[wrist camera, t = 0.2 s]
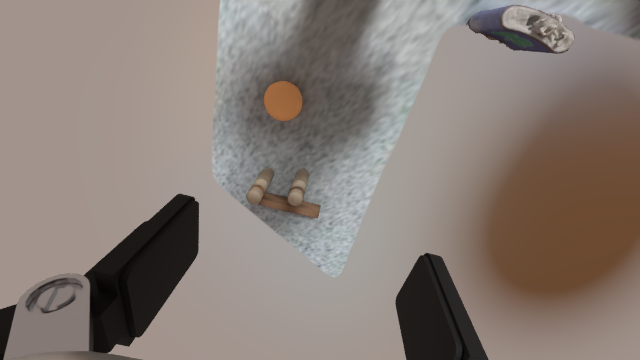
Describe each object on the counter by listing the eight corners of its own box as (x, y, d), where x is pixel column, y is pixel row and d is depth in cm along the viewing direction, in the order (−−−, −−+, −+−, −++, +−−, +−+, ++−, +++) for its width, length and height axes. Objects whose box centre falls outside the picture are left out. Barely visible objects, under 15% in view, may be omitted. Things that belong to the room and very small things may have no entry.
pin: (297, 167, 49) (288, 191, 41) (310, 170, 49) (303, 195, 41) (295, 178, 50) (286, 204, 43) (307, 181, 51) (301, 207, 43)
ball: (271, 74, 42) (261, 79, 37) (308, 83, 42) (302, 89, 37) (267, 111, 45) (257, 120, 39) (301, 119, 45) (295, 129, 40)
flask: (463, 28, 37) (505, 23, 27) (477, 4, 35) (525, -9, 26) (519, 54, 38) (577, 58, 28) (534, 32, 36) (601, 29, 27)
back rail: (261, 197, 53) (258, 204, 51) (262, 191, 53) (259, 198, 50) (318, 211, 54) (317, 218, 51) (320, 205, 53) (319, 212, 51)
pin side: (262, 166, 50) (246, 189, 42) (274, 169, 50) (261, 193, 42) (260, 177, 51) (245, 202, 43) (273, 180, 51) (260, 205, 43)
